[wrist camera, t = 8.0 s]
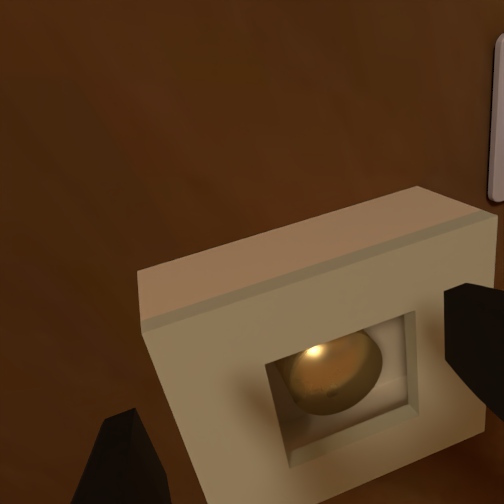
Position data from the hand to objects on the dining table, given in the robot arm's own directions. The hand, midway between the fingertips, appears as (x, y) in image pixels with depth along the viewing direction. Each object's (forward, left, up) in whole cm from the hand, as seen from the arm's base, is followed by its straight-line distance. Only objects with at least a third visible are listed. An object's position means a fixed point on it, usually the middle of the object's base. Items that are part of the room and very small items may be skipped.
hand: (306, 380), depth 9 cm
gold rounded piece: (-3, +7, -10) cm, 12 cm away
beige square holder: (-3, +7, -11) cm, 13 cm away
